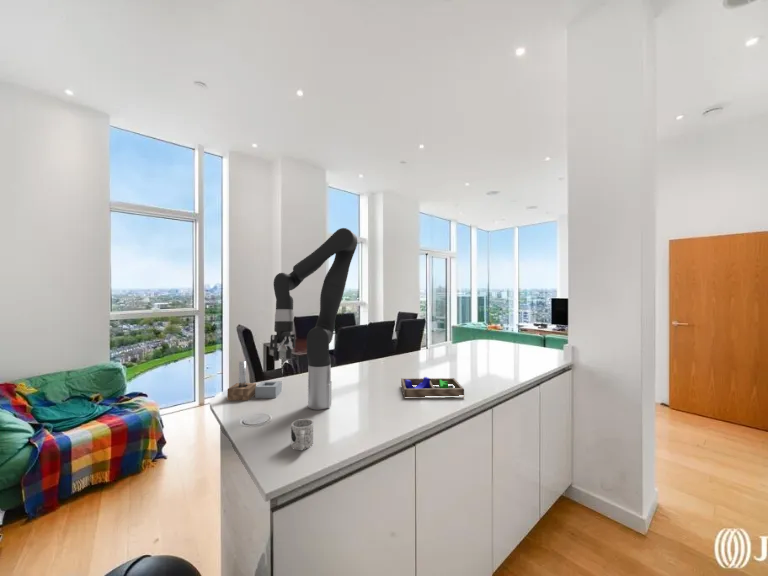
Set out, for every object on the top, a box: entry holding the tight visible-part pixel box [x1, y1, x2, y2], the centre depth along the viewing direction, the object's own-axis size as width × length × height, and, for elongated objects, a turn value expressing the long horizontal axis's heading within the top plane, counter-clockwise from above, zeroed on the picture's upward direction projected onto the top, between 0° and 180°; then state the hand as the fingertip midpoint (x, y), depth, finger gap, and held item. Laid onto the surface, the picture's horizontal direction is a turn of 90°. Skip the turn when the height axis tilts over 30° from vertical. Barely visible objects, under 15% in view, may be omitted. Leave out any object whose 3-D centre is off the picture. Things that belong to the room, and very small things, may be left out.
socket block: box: [254, 380, 283, 399], centre depth 145 cm, size 9×9×5 cm
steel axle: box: [238, 360, 247, 387], centre depth 142 cm, size 3×3×16 cm
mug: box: [290, 418, 314, 451], centre depth 96 cm, size 10×7×7 cm
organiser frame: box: [400, 377, 465, 398], centre depth 150 cm, size 27×18×4 cm, turn 91°
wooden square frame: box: [226, 382, 257, 401], centre depth 142 cm, size 9×9×5 cm
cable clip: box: [405, 376, 431, 389], centre depth 150 cm, size 12×4×6 cm, turn 118°
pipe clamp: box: [439, 379, 449, 389], centre depth 150 cm, size 11×4×5 cm, turn 173°
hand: (282, 359), depth 130 cm, fingers open, 8 cm apart
